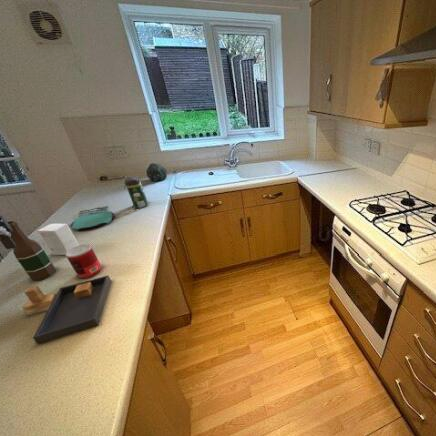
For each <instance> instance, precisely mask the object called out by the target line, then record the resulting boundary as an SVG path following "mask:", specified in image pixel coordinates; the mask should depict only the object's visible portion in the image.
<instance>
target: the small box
mask: <svg viewBox="0 0 436 436" xmlns="http://www.w3.org/2000/svg"><path fill="white" fill-rule="evenodd" d="M37 231H38V233H39V235H40V237H41V238H42V240H43V241H44V243H45V244H46V246H47V247H48V249H49V251H50V252H51V254H52V255H53V256H66V253H67V252H68V251H69V250H70V249H72V248H74V247H76V246H79V245H80V243H79V242H78V240H77V239H76V236H75V235H74V233H73V232H72V230H71V229H70V226H69V224H68V223H49V224H48V225H45V226H44V227H41V228H40V229H38V230H37Z"/></svg>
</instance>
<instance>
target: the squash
mask: <svg viewBox="0 0 436 436" xmlns="http://www.w3.org/2000/svg"><path fill="white" fill-rule="evenodd" d="M146 176H147V178H148V179H149V180H150V181H152V182H159V181H163V180H166V179H167V177H168V172H167V169H166V168H165V167H164V166H163V165H161V164H158V163H154V162H153V163H150V164H149V165H148V167H147V169H146Z"/></svg>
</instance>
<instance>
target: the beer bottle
mask: <svg viewBox="0 0 436 436" xmlns="http://www.w3.org/2000/svg"><path fill="white" fill-rule="evenodd" d="M7 222H8V224H9V225H10V226H11V228H12V229H13V231H12V232H10V233H11V236H10V237H11V238H12V240H13V241H14V242H15V244H16V247H15V248H12V251H13V255H14V257H15V259H16V260H17V262H18V263H19V265H20V266H21V267H22V268H23V270H24V271H25V272H26V274H27V275H28V277H29V278H30V279H31V280H32V281H42V280H45V279H47V278H49V277H52V276H53V275H54V274H55V273H56V272H57V269H56V268H55V266H54V264H53V262H52V261H51V259H50V258H49V256H48V254H47V252H46V251H45V250H44V249H43V246H41V244H40V243H39V242H38V241H36V240H34V239H31V238H29V237H28V236H27V235H26V233H25V232H24V231H23V229H22V228H21V227H20V225H18V222H17V221H16V220H11V221H7ZM2 228H4V229H6V227H5V226H2Z"/></svg>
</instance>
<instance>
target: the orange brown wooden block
mask: <svg viewBox="0 0 436 436" xmlns="http://www.w3.org/2000/svg"><path fill="white" fill-rule="evenodd" d="M93 289H94V287H93V286H92V284H91V282H88V283H84V284H81V285H77V287H76V289H75V291H74V295H75V296H76V298H77V299H79V298H83V297H87V296H90V295H91V294H92V291H93Z"/></svg>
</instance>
